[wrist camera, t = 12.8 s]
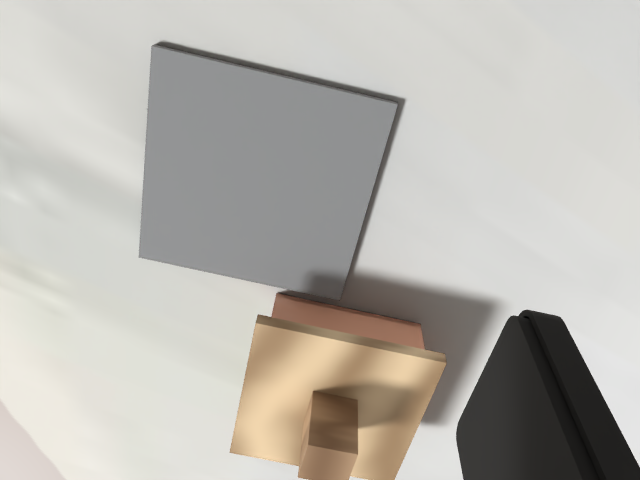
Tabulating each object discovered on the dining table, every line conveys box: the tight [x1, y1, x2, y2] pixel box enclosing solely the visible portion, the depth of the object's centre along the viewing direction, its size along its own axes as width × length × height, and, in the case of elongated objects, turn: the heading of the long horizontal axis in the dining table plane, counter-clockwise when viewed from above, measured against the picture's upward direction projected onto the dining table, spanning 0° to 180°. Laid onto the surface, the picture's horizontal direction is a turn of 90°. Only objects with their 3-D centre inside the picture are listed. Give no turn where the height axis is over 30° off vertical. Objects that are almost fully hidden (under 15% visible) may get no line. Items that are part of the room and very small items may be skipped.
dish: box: [272, 293, 425, 349], centre depth 44 cm, size 12×12×4 cm
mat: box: [139, 45, 398, 301], centre depth 38 cm, size 16×16×1 cm
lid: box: [230, 315, 447, 480], centre depth 40 cm, size 14×14×6 cm
